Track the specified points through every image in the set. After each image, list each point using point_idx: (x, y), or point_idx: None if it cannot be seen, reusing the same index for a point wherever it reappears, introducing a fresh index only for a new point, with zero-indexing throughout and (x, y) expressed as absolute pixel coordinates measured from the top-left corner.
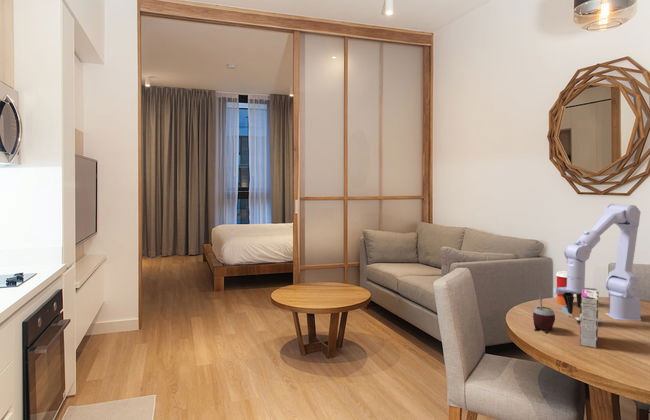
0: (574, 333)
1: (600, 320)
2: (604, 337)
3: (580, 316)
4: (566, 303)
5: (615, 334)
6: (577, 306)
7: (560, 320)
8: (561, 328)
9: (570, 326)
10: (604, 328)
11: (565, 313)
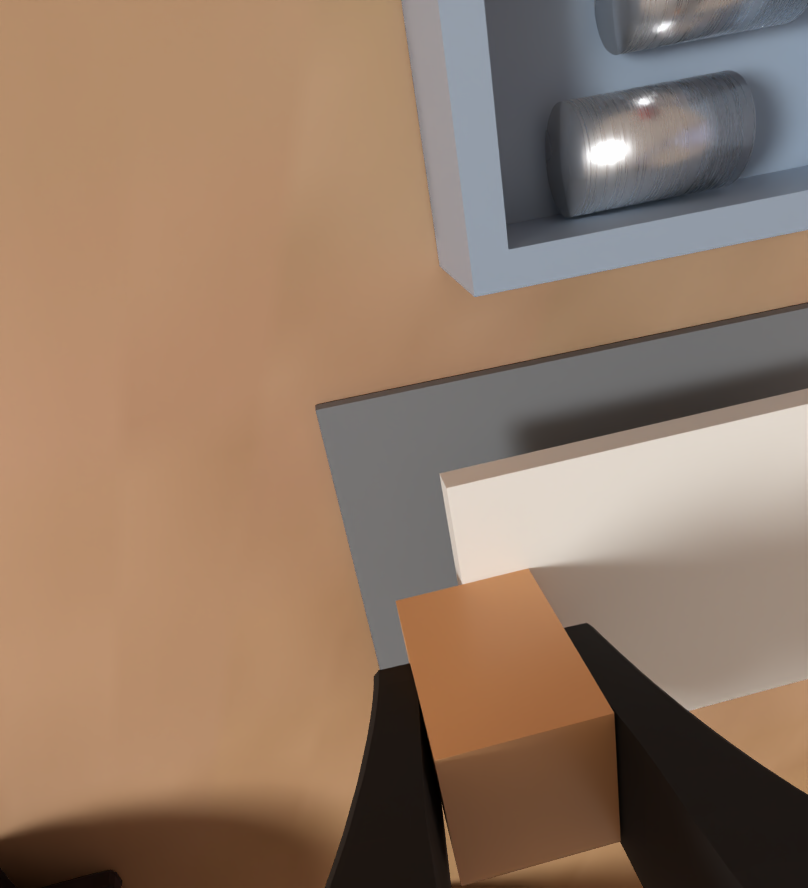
0: None
1: (805, 677)
2: (623, 862)
3: (575, 623)
4: (355, 848)
5: (780, 757)
6: (600, 775)
7: (269, 453)
8: (236, 776)
9: (367, 674)
10: None
11: (424, 107)
